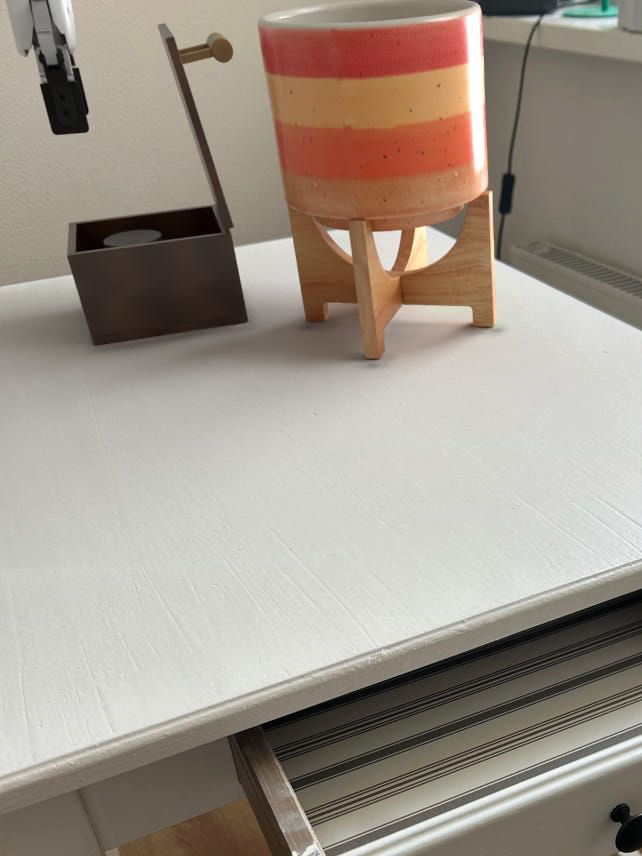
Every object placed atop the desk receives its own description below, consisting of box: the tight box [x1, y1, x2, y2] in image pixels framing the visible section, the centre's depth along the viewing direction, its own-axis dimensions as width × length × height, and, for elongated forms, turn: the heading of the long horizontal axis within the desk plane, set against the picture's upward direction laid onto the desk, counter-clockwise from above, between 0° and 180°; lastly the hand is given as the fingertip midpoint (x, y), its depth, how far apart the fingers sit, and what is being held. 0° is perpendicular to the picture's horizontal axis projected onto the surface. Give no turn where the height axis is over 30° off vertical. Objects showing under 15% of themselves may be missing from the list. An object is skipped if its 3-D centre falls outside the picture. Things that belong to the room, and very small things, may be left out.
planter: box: [257, 0, 497, 360], centre depth 91 cm, size 20×20×27 cm
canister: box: [103, 230, 163, 248], centre depth 102 cm, size 6×6×7 cm
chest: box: [66, 203, 249, 346], centre depth 102 cm, size 16×13×9 cm
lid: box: [157, 22, 235, 230], centre depth 96 cm, size 16×13×6 cm
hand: (72, 124), depth 92 cm, fingers open, 9 cm apart
